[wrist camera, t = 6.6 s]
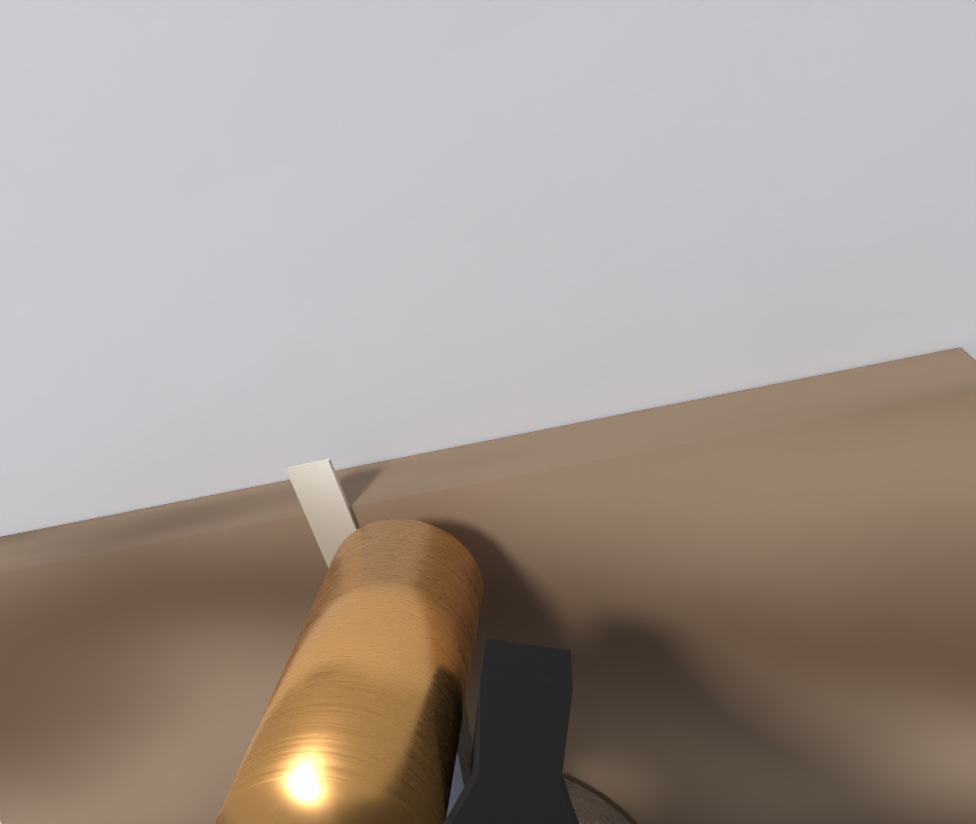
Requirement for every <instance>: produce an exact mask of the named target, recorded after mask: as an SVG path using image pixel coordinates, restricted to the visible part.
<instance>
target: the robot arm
mask: <svg viewBox="0 0 976 824" xmlns="http://www.w3.org/2000/svg"><path fill="white" fill-rule="evenodd" d="M572 691H573V685H572V663H571V650H564V649H557V648H550V647H543V646H536V645H529V644H521V643H514V642H507V641H500V640H493V639H487V640H486V646H485V652H484V658H483V664H482V670H481V677H480V685H479V694H478V703H477V712H476V721H475V730H474V739H473V748H472V757H471V765H470V774H469V779H468V781H467V783H466V785H465V786H464V788H463V790H462V792H461V794H460V795H459V797H458V799H457V801H456V803H455V804H454V806H453V808H452V810H451V811H450V813H449V815H448V817H447V818H446V820H445V821H444V823H443V824H579V821H578V818H577V816H576V813H575V810H574V808H573V805H572V802H571V799H570V796H569V793H568V790H567V787H566V785H565V782H564V778H563V775H562V771H563V763H564V755H565V747H566V739H567V731H568V723H569V715H570V707H571V699H572Z"/></svg>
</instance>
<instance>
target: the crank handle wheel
mask: <svg viewBox="0 0 976 824" xmlns="http://www.w3.org/2000/svg"><path fill="white" fill-rule="evenodd" d="M482 598H483V579H482V575H481V572H480V569H479V567H478V564H477V562H476V561H475V559H474V557H473V556H472V554H471V553H470V552H469V551H468V549H467V548H466V547H465V546H464V545H463V544H462V543H461V542H460V541H458V540H457V539H456V538H455V537H453V536H452V535H450V534H449V533H447V532H445V531H444V530H442V529H440V528H438V527H435V526H433V525H430V524H427V523H424V522H420V521H415V520H408V519H388V520H381V521H377V522H373V523H370V524H368V525H365V526H363V527H361V528H359V529H357V530H356V531H354V532H353V533H352V534H350V535H349V536H348V537H347V538H346V539H345V540H344V541H343V542H342V544H341V545H340V546H339V548H338V550H337V552H336V554H335V556H334V558H333V560H332V562H331V565H330V567H329V569H328V571H327V574H326V576H325V578H324V580H323V582H322V585H321V587H320V589H319V591H318V594H317V596H316V598H315V600H314V603H313V605H312V607H311V609H310V612H309V614H308V616H307V618H306V621H305V623H304V625H303V627H302V630H301V632H300V634H299V636H298V639H297V641H296V643H295V645H294V647H293V650H292V652H291V654H290V656H289V659H288V661H287V663H286V665H285V668H284V670H283V672H282V674H281V677H280V679H279V681H278V683H277V686H276V688H275V690H274V692H273V695H272V697H271V699H270V701H269V704H268V706H267V708H266V710H265V712H264V715H263V717H262V719H261V721H260V724H259V726H258V728H257V730H256V733H255V735H254V737H253V739H252V742H251V744H250V746H249V748H248V751H247V753H246V755H245V757H244V760H243V762H242V764H241V766H240V769H239V771H238V773H237V775H236V777H235V780H234V782H233V784H232V786H231V789H230V791H229V793H228V795H227V798H226V800H225V802H224V804H223V807H222V809H221V811H220V813H219V816H218V818H217V821H216V824H443V823H444V821H445V820H446V818H447V817H448V815H449V813H450V811H451V810H452V808H453V806H454V804H455V803H456V801H457V799H458V797H459V795H460V794H461V792H462V790H463V788H464V786H465V785H466V783H467V781H468V779H469V774H470V765H471V757H472V748H473V742H472V736H471V731H470V725H469V719H468V714H467V708H466V703H465V701H466V695H467V689H468V683H469V677H470V671H471V665H472V659H473V653H474V647H475V640H476V634H477V628H478V622H479V616H480V610H481V604H482ZM564 782H565V785H566V787H567V790H568V793H569V796H570V799H571V802H572V805H573V808H574V810H575V813H576V816H577V818H578V821H579V824H631V823H630V822H629V821H628V820H627V819H626V818H625V817H624V816H623V815H622V814H621V813H620V812H619V811H618V810H616V809H615V808H614V807H612V806H611V805H610V804H608V803H607V802H606V801H604V800H603V799H602V798H600V797H599V796H597V795H595V794H594V793H592V792H590V791H588V790H587V789H585V788H583V787H582V786H580V785H578V784H576V783H574V782H571V781H569V780H567V779H565V778H564Z"/></svg>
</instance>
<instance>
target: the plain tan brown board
mask: <svg viewBox="0 0 976 824" xmlns="http://www.w3.org/2000/svg"><path fill="white" fill-rule="evenodd" d="M286 471H287V474H288V476H289V478H290V480H287V481H282V482H277V483H272V484H267V485H262V486H256V487H251V488H246V489H241V490H236V491H231V492H226V493H221V494H216V495H211V496H206V497H201V498H196V499H191V500H186V501H180V502H175V503H170V504H165V505H160V506H155V507H150V508H145V509H140V510H135V511H130V512H125V513H120V514H115V515H110V516H104V517H99V518H94V519H89V520H84V521H79V522H74V523H69V524H64V525H59V526H54V527H49V528H44V529H39V530H34V531H28V532H23V533H18V534H13V535H8V536H3V537H0V821H1V822H2V824H216V821H217V818H218V816H219V813H220V811H221V809H222V807H223V804H224V802H225V800H226V798H227V795H228V793H229V791H230V789H231V786H232V784H233V782H234V780H235V777H236V775H237V773H238V771H239V769H240V766H241V764H242V762H243V760H244V757H245V755H246V753H247V751H248V748H249V746H250V744H251V742H252V739H253V737H254V735H255V733H256V730H257V728H258V726H259V724H260V721H261V719H262V717H263V715H264V712H265V710H266V708H267V706H268V704H269V701H270V699H271V697H272V695H273V692H274V690H275V688H276V686H277V683H278V681H279V679H280V677H281V674H282V672H283V670H284V668H285V665H286V663H287V661H288V659H289V656H290V654H291V652H292V650H293V647H294V645H295V643H296V641H297V639H298V636H299V634H300V632H301V630H302V627H303V625H304V623H305V621H306V618H307V616H308V614H309V612H310V609H311V607H312V605H313V603H314V600H315V598H316V596H317V594H318V591H319V589H320V587H321V585H322V582H323V580H324V578H325V576H326V574H327V571H328V569H329V567H330V565H331V562H332V560H333V558H334V556H335V554H336V552H337V550H338V548H339V546H340V545H341V544H342V542H343V541H344V540H345V539H346V538H347V537H348V536H349V535H350V534H352V533H353V532H354V531H356V530H357V529H359V528H361V527H363V526H365V525H368V524H370V523H373V522H377V521H381V520H388V519H408V520H415V521H420V522H424V523H427V524H430V525H433V526H435V527H438V528H440V529H442V530H444V531H445V532H447V533H449V534H450V535H452V536H453V537H455V538H456V539H457V540H458V541H460V542H461V543H462V544H463V545H464V546H465V547H466V548H467V549H468V551H469V552H470V553H471V554H472V556H473V557H474V559H475V561H476V562H477V564H478V567H479V569H480V572H481V575H482V579H483V598H482V604H481V610H480V616H479V622H478V628H477V634H476V640H475V647H474V653H473V659H472V665H471V671H470V677H469V683H468V689H467V695H466V701H465V703H466V708H467V714H468V719H469V725H470V731H471V736H472V742H473V739H474V730H475V721H476V712H477V703H478V694H479V685H480V677H481V670H482V664H483V658H484V652H485V646H486V640H487V639H493V640H500V641H507V642H514V643H521V644H529V645H536V646H543V647H550V648H557V649H564V650H571V663H572V685H573V691H572V699H571V707H570V715H569V723H568V731H567V739H566V747H565V755H564V763H563V771H562V775H563V778H565V779H567V780H569V781H571V782H574V783H576V784H578V785H580V786H582V787H583V788H585V789H587V790H588V791H590V792H592V793H594V794H595V795H597V796H599V797H600V798H602V799H603V800H604V801H606V802H607V803H608V804H610V805H611V806H612V807H614V808H615V809H616V810H618V811H619V812H620V813H621V814H622V815H623V816H624V817H625V818H626V819H627V820H628V821H629V822H630V823H631V824H976V360H975V359H974V358H972V357H971V356H970V355H969V354H968V353H967V352H966V351H965V350H964V349H962V348H955V349H950V350H945V351H940V352H935V353H930V354H925V355H920V356H915V357H910V358H905V359H900V360H895V361H890V362H885V363H880V364H874V365H869V366H864V367H859V368H854V369H849V370H844V371H839V372H834V373H829V374H824V375H819V376H814V377H809V378H804V379H798V380H793V381H788V382H783V383H778V384H773V385H768V386H763V387H758V388H753V389H748V390H743V391H738V392H733V393H728V394H722V395H717V396H712V397H707V398H702V399H697V400H692V401H687V402H682V403H677V404H672V405H667V406H662V407H657V408H652V409H646V410H641V411H636V412H631V413H626V414H621V415H616V416H611V417H606V418H601V419H596V420H591V421H586V422H581V423H576V424H571V425H565V426H560V427H555V428H550V429H545V430H540V431H535V432H530V433H525V434H520V435H515V436H510V437H505V438H500V439H495V440H489V441H484V442H479V443H474V444H469V445H464V446H459V447H454V448H449V449H444V450H439V451H434V452H429V453H424V454H419V455H413V456H408V457H403V458H398V459H393V460H388V461H383V462H378V463H373V464H368V465H363V466H358V467H353V468H348V469H343V470H337V471H335V469H334V467H333V464H332V462H331V459H325V460H320V461H315V462H310V463H305V464H300V465H295V466H290V467H287V469H286Z"/></svg>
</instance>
